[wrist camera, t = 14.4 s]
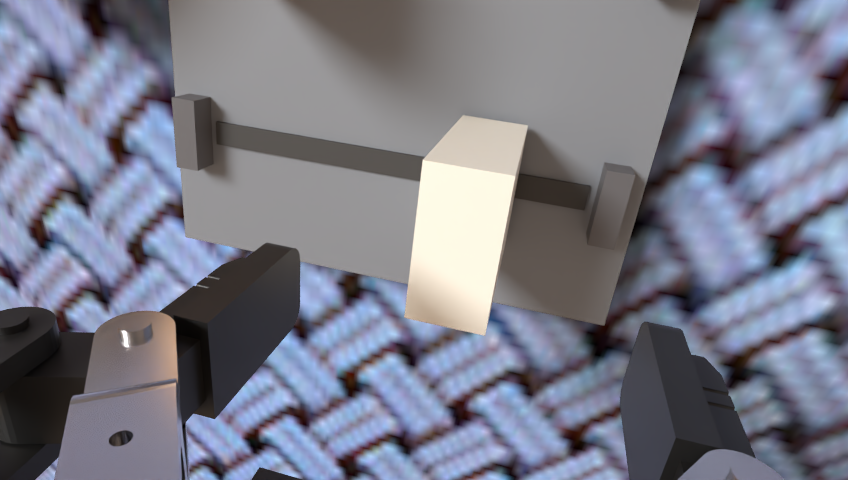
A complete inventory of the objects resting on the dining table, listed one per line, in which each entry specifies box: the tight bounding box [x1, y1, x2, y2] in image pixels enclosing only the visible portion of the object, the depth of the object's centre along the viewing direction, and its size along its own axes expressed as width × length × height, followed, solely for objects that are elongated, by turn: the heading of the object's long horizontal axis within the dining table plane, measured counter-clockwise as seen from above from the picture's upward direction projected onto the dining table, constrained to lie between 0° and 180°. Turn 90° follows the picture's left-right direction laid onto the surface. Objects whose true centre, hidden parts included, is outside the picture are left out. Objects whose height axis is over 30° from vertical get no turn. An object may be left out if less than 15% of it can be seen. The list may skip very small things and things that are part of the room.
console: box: [168, 0, 701, 326], centre depth 21 cm, size 20×20×3 cm
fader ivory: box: [404, 115, 528, 336], centre depth 19 cm, size 2×5×7 cm, turn 173°
